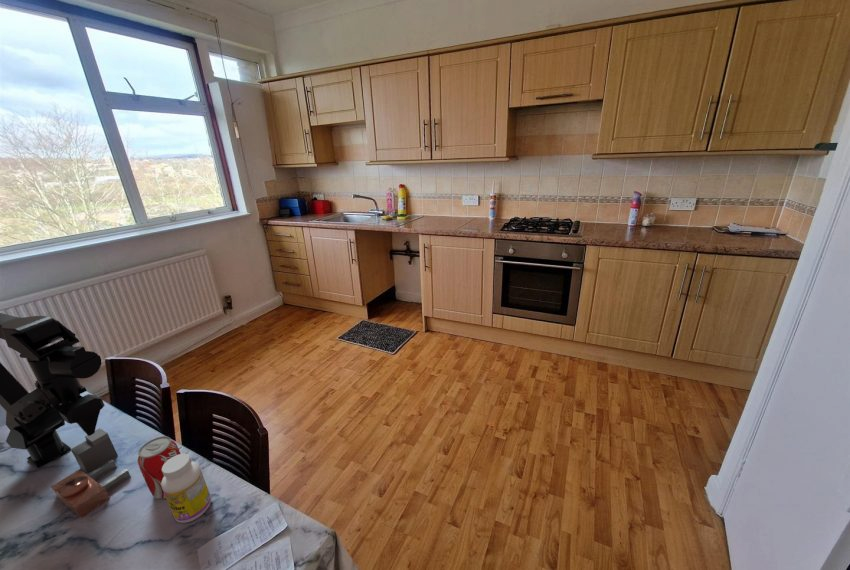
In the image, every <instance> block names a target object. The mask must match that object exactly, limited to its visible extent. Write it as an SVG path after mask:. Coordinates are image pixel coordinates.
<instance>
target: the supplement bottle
mask: <svg viewBox="0 0 850 570" xmlns="http://www.w3.org/2000/svg"><path fill="white" fill-rule="evenodd" d="M162 472H163V475H164V477H163V479H162V482H161V487H162V490H163V492H164V494H165V497H166V498H165V499H166V501H167V503H168V505H169V508H170V510H171V511H170V512H171V513H172V515H173V518H174V520H175V521H176V522H178V523H182V524H183V523H184V524H185V523H190V522H192V521H194V520H196V519H198V518H200V517H201V516H202V515H204V513H206V511H207V510H208V509H209V507H210V505H211V502H212V497H211V493H210V491H209V488H208V485H207V483H206V480H205V477H204V474H203V472H202V469H201V467H200V465H199V463H197V462H195V461H193V460H192V458H191V457H190V455H189V454H187V453H181V454H179V455H176V456H174V457H172V458H170V459H169V460H168V461H167V462H166V463H165V464H164V465H163V467H162Z"/></svg>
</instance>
